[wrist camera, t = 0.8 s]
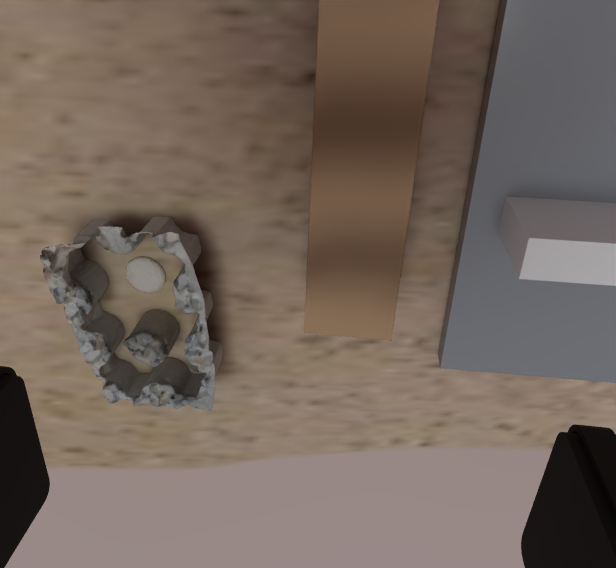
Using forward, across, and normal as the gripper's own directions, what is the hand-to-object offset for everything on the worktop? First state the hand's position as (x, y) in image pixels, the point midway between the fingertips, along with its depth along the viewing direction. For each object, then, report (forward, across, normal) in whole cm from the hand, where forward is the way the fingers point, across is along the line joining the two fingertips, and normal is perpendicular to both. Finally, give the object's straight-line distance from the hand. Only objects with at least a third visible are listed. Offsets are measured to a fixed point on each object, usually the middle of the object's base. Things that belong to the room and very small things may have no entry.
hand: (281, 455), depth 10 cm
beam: (+19, -1, -3) cm, 19 cm away
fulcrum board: (+19, -12, +2) cm, 23 cm away
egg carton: (+19, +10, +9) cm, 24 cm away
